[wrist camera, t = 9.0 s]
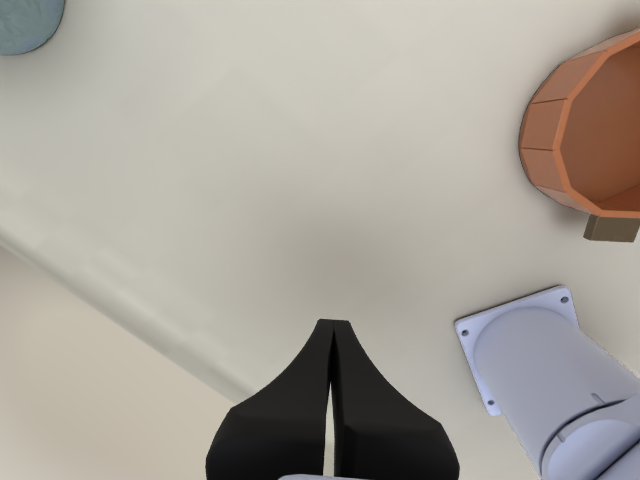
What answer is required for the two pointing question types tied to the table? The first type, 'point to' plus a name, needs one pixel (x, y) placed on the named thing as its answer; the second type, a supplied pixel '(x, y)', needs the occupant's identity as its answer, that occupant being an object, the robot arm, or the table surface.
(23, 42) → the grey cylinder
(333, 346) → the robot arm
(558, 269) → the table surface
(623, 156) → the pan
